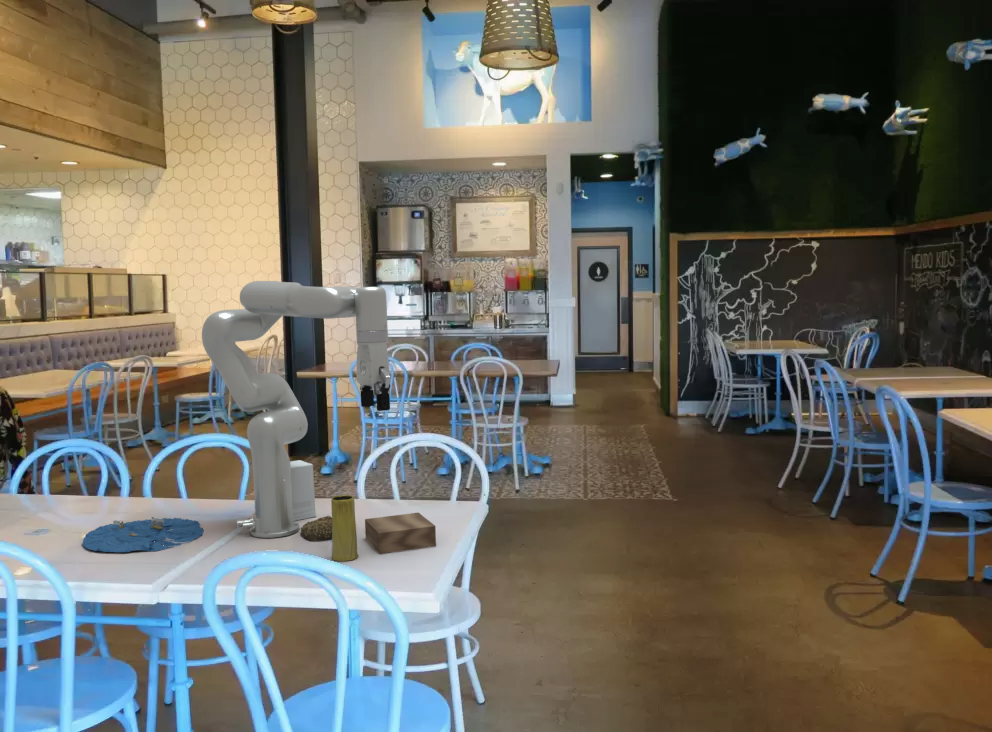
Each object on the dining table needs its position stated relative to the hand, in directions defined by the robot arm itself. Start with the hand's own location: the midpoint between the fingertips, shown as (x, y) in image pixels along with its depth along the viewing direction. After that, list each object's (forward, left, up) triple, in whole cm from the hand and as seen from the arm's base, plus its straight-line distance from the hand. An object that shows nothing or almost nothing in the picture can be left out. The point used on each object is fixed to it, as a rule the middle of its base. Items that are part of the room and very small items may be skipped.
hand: (375, 408), depth 208 cm
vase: (-10, -7, -34) cm, 36 cm away
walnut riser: (+5, -1, -34) cm, 34 cm away
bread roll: (-10, +15, -34) cm, 38 cm away
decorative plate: (-53, +34, -34) cm, 72 cm away
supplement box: (-15, +36, -34) cm, 51 cm away
